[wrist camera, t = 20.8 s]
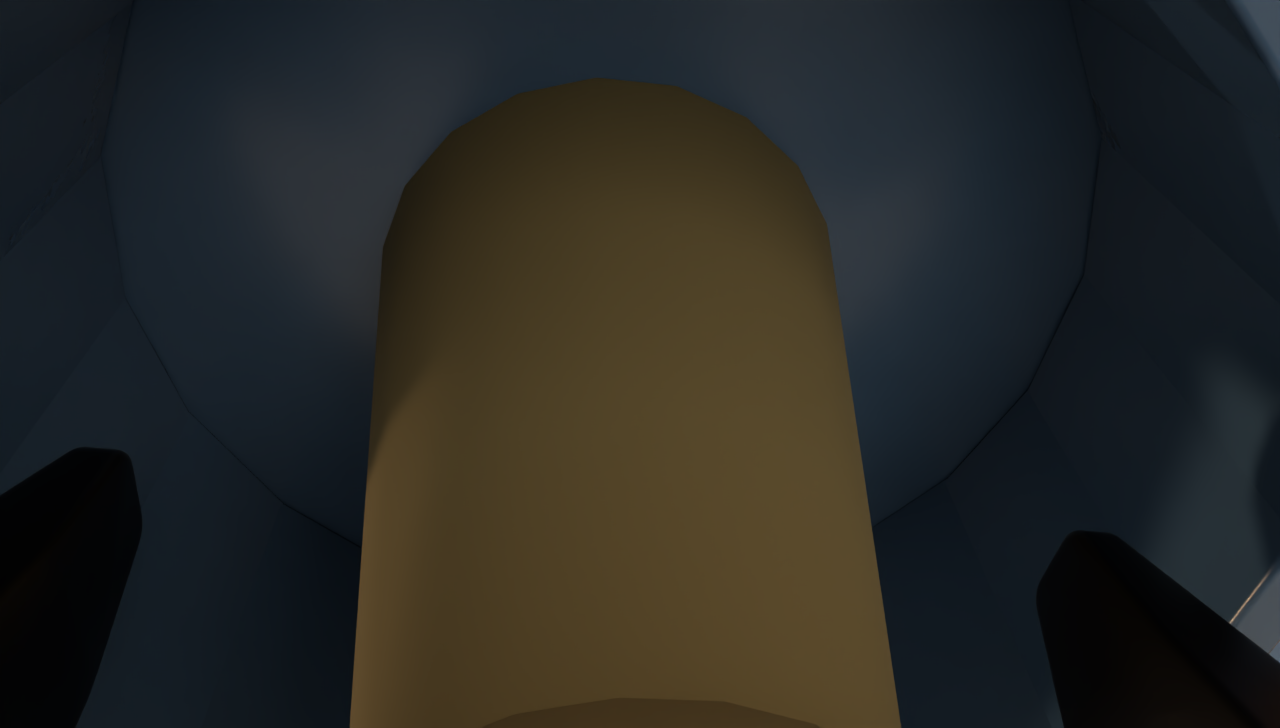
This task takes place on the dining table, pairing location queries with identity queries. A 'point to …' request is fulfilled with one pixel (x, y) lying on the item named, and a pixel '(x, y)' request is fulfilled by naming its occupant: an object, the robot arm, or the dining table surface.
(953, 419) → the basin
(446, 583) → the tan pawn
